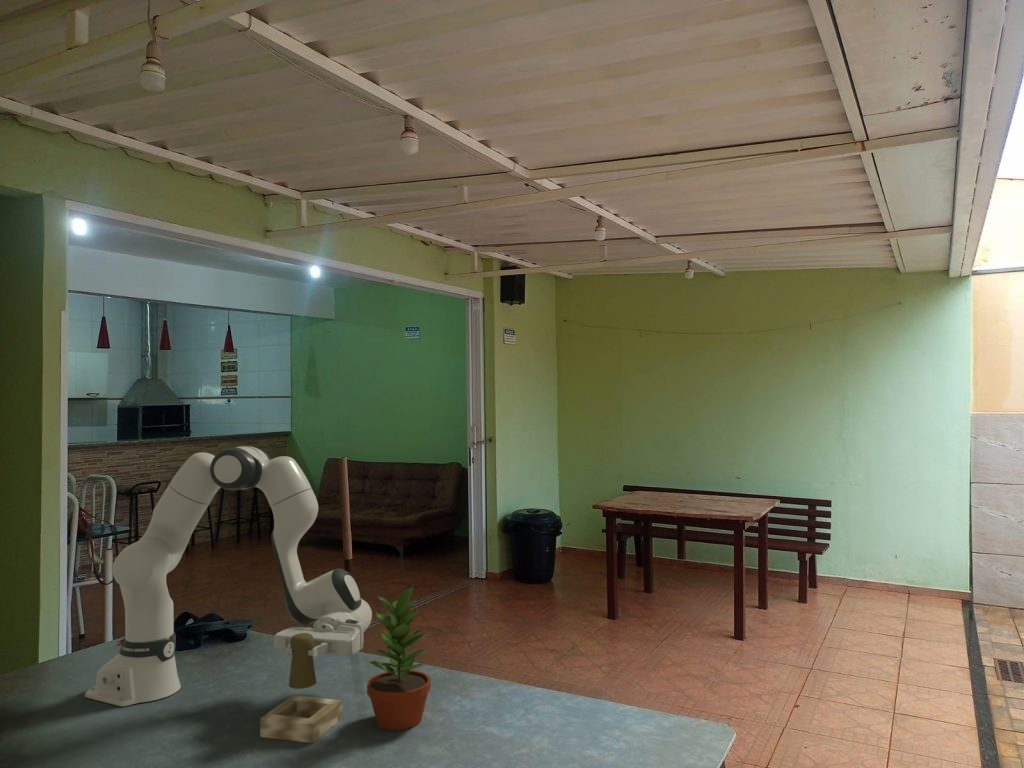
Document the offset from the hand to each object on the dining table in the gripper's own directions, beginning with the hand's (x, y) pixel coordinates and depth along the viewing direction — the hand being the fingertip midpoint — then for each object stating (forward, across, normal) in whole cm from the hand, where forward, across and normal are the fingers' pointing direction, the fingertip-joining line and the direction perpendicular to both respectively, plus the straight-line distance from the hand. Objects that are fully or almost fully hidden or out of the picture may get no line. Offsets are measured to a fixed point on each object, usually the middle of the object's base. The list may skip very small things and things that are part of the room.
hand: (300, 652), depth 165 cm
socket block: (-1, 0, +17) cm, 17 cm away
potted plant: (-9, +20, +17) cm, 28 cm away
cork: (-1, 0, +8) cm, 8 cm away
